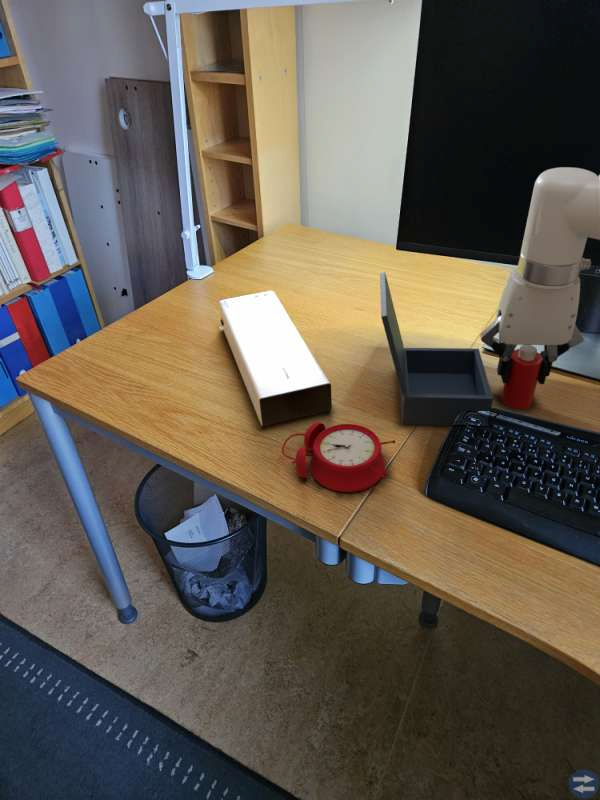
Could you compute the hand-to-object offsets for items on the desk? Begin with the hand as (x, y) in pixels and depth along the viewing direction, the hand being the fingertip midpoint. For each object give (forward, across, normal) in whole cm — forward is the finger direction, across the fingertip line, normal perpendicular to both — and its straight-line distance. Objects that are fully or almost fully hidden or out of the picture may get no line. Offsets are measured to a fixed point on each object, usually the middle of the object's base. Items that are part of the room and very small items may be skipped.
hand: (521, 377), depth 86 cm
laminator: (+5, +41, -8) cm, 42 cm away
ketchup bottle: (+4, 0, 0) cm, 4 cm away
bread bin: (+4, +12, 0) cm, 13 cm away
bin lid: (-8, +20, 0) cm, 21 cm away
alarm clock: (+5, +28, +16) cm, 32 cm away
